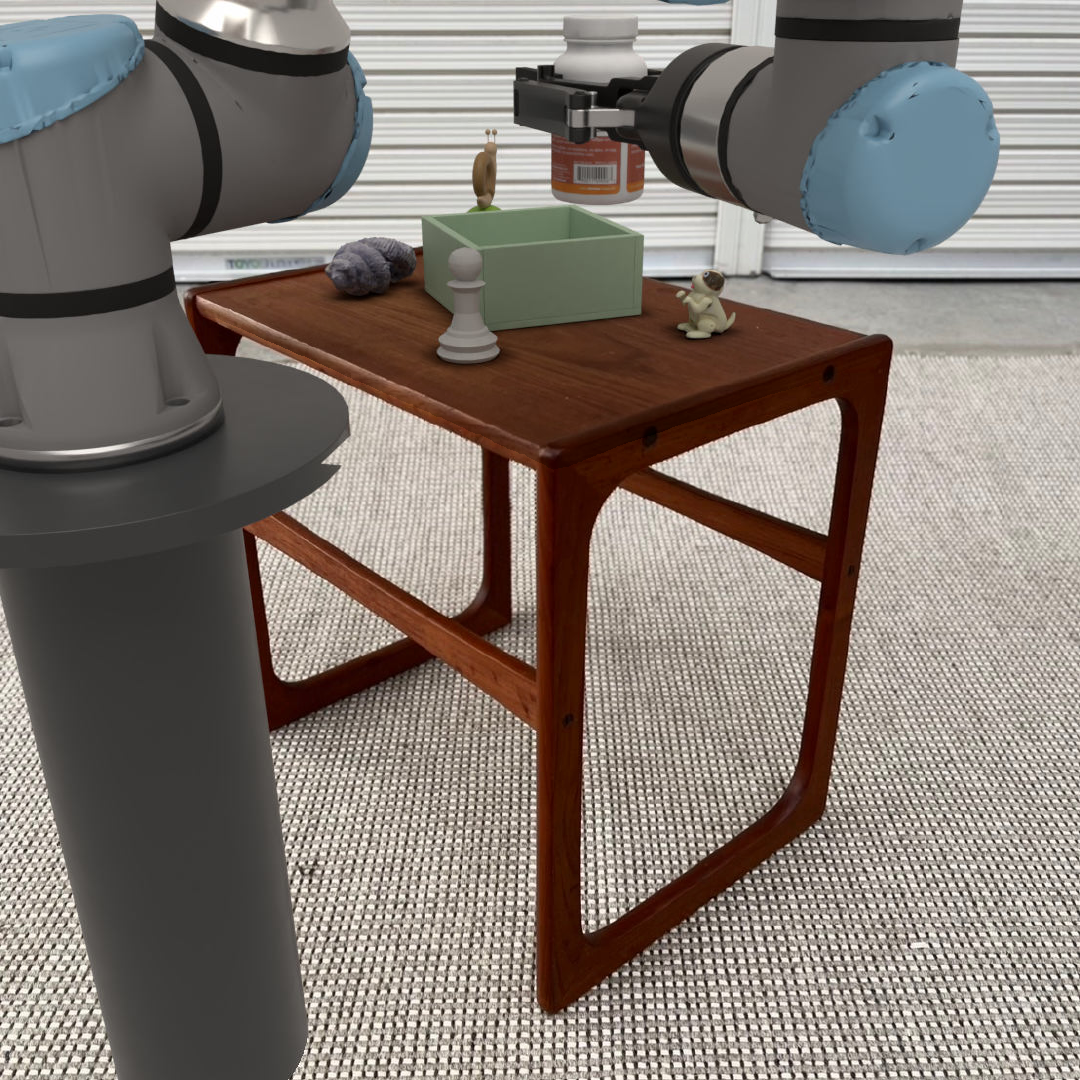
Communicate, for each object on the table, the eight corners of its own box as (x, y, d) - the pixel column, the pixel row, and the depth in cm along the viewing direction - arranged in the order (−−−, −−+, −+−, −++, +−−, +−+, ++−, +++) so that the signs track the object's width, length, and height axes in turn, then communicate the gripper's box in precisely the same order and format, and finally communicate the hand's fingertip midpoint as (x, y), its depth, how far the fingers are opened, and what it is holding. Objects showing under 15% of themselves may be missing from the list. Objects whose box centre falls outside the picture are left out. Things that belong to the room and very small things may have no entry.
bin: (475, 333, 91) (473, 249, 88) (424, 290, 103) (421, 216, 100) (641, 314, 96) (644, 234, 93) (574, 276, 108) (574, 204, 105)
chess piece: (424, 358, 85) (418, 249, 82) (460, 342, 89) (457, 237, 85) (476, 368, 83) (473, 257, 79) (511, 351, 86) (510, 244, 83)
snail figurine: (520, 253, 117) (519, 129, 111) (507, 267, 111) (505, 137, 106) (468, 251, 118) (464, 128, 112) (453, 265, 112) (448, 136, 107)
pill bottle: (608, 187, 80) (613, 13, 75) (662, 201, 75) (671, 16, 70) (533, 195, 77) (532, 14, 72) (583, 210, 72) (587, 17, 67)
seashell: (401, 292, 108) (334, 320, 100) (369, 243, 107) (299, 268, 99) (436, 262, 104) (370, 289, 97) (403, 211, 104) (334, 234, 96)
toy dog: (672, 327, 92) (675, 265, 90) (732, 326, 92) (736, 264, 90) (678, 339, 89) (681, 276, 87) (740, 339, 89) (744, 275, 87)
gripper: (565, 214, 57) (434, 152, 76) (887, 190, 63) (691, 138, 82) (567, 50, 54) (430, 29, 73) (907, 42, 60) (697, 24, 79)
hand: (568, 87), depth 78 cm, fingers closed on pill bottle, 6 cm apart
